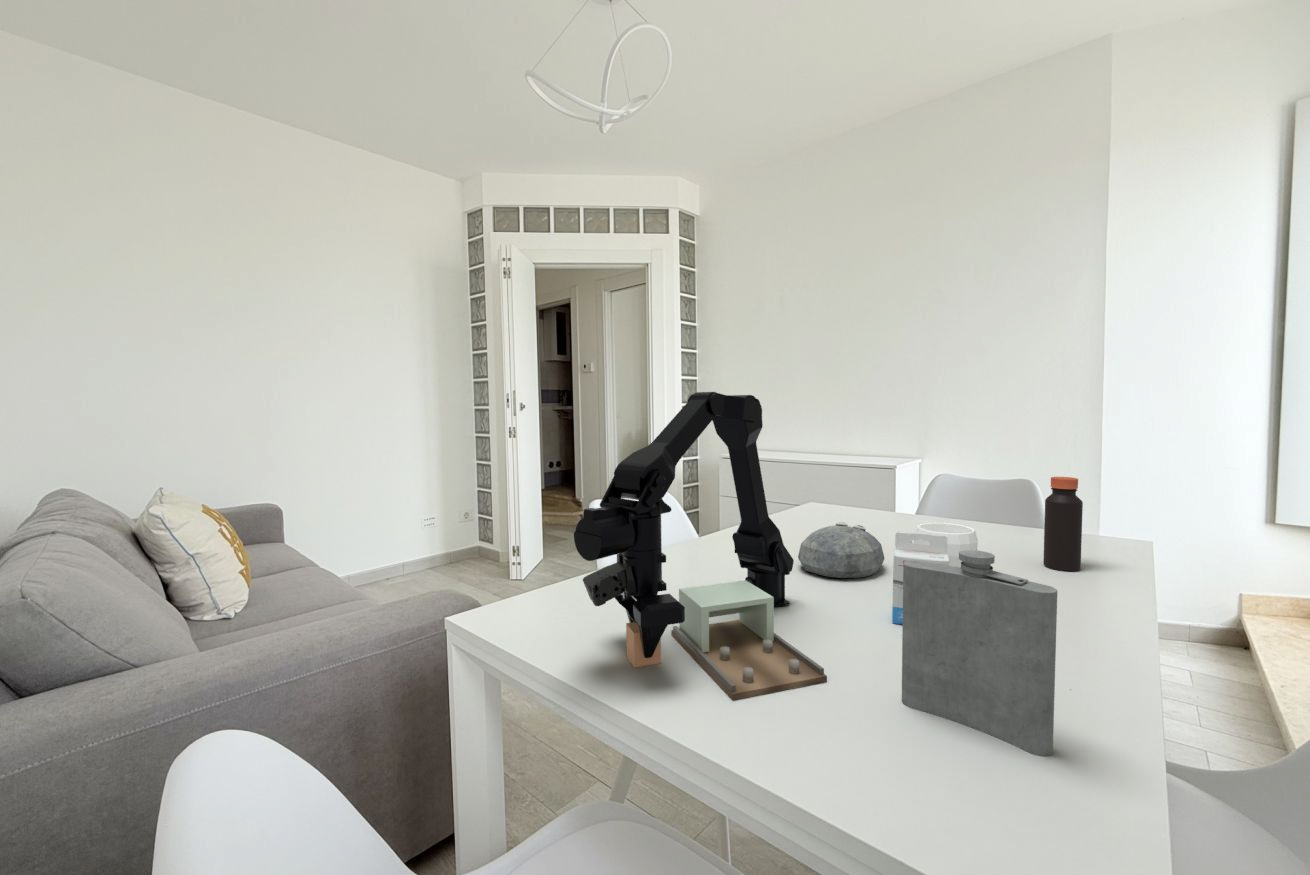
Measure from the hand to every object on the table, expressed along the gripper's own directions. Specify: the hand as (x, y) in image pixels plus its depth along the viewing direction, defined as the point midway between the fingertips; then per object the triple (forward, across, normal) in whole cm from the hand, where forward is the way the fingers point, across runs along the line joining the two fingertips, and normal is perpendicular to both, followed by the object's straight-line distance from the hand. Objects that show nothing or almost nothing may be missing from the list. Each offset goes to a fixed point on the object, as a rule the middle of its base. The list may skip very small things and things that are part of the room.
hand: (643, 651), depth 84 cm
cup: (+2, -18, +75) cm, 77 cm away
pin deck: (+1, +4, +14) cm, 15 cm away
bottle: (+2, -11, +101) cm, 102 cm away
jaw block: (+1, 0, 0) cm, 1 cm away
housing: (+1, -2, +14) cm, 14 cm away
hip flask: (+2, +29, +31) cm, 42 cm away
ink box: (+2, +3, +48) cm, 48 cm away
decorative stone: (+2, -28, +56) cm, 62 cm away
